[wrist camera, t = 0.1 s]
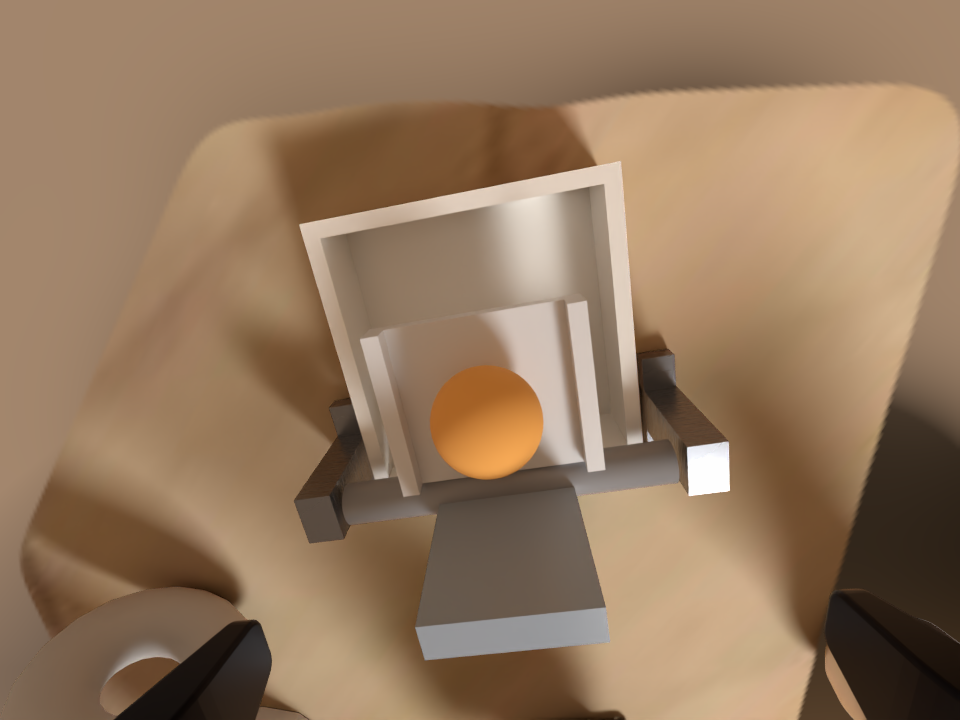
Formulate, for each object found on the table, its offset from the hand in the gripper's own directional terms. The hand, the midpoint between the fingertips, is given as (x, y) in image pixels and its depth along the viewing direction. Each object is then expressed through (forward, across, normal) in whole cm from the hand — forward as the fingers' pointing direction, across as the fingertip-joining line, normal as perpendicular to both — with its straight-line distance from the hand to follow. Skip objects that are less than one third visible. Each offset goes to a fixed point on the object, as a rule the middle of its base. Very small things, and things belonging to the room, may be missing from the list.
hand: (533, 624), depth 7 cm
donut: (+15, +19, +14) cm, 28 cm away
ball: (+7, +1, 0) cm, 7 cm away
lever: (+14, +1, +4) cm, 15 cm away
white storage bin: (+14, +1, -1) cm, 15 cm away
